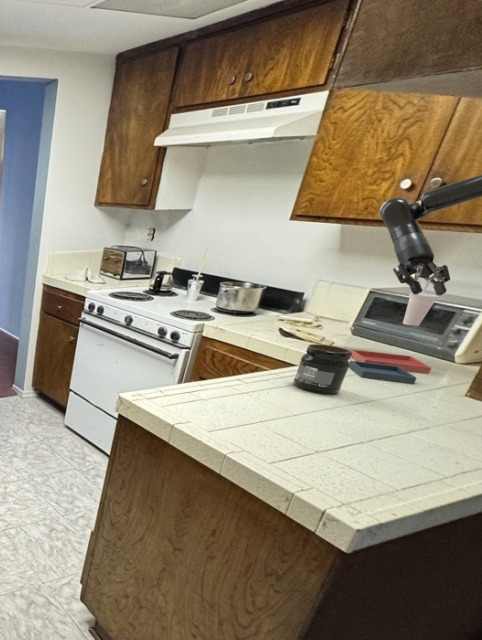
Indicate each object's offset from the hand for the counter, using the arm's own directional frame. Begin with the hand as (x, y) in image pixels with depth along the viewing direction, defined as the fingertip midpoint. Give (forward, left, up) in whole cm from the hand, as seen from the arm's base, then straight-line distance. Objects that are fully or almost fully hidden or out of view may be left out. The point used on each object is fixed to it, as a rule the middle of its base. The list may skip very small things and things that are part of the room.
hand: (430, 293), depth 146 cm
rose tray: (+1, -4, -25) cm, 25 cm away
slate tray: (+8, +13, -25) cm, 29 cm away
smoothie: (+1, -2, -10) cm, 11 cm away
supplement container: (+30, +39, -25) cm, 55 cm away
